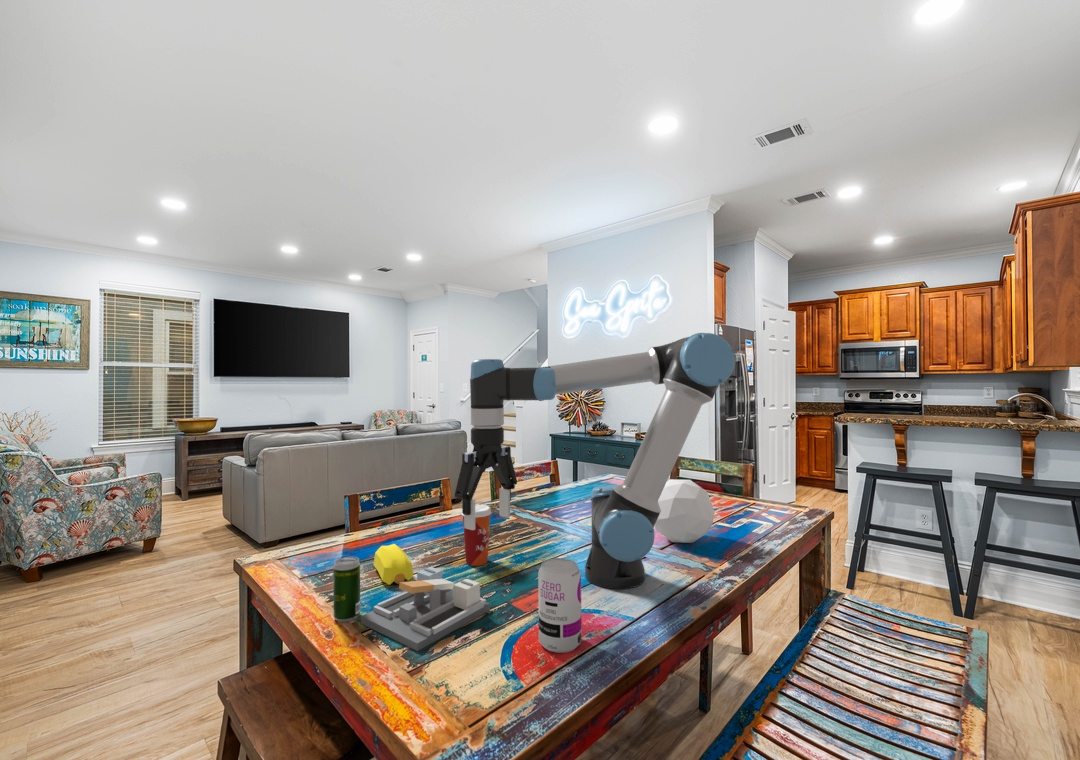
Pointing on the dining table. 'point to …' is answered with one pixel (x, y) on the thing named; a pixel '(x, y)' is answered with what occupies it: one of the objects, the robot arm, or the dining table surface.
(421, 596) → the grey slider track base
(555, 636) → the supplement can
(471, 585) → the slider
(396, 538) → the dining table surface
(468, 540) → the coffee cup
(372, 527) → the dining table surface
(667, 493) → the geometric orb
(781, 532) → the dining table surface
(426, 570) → the slider
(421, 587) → the rocker
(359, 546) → the dining table surface
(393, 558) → the yellow faceted dome
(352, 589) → the beer can
